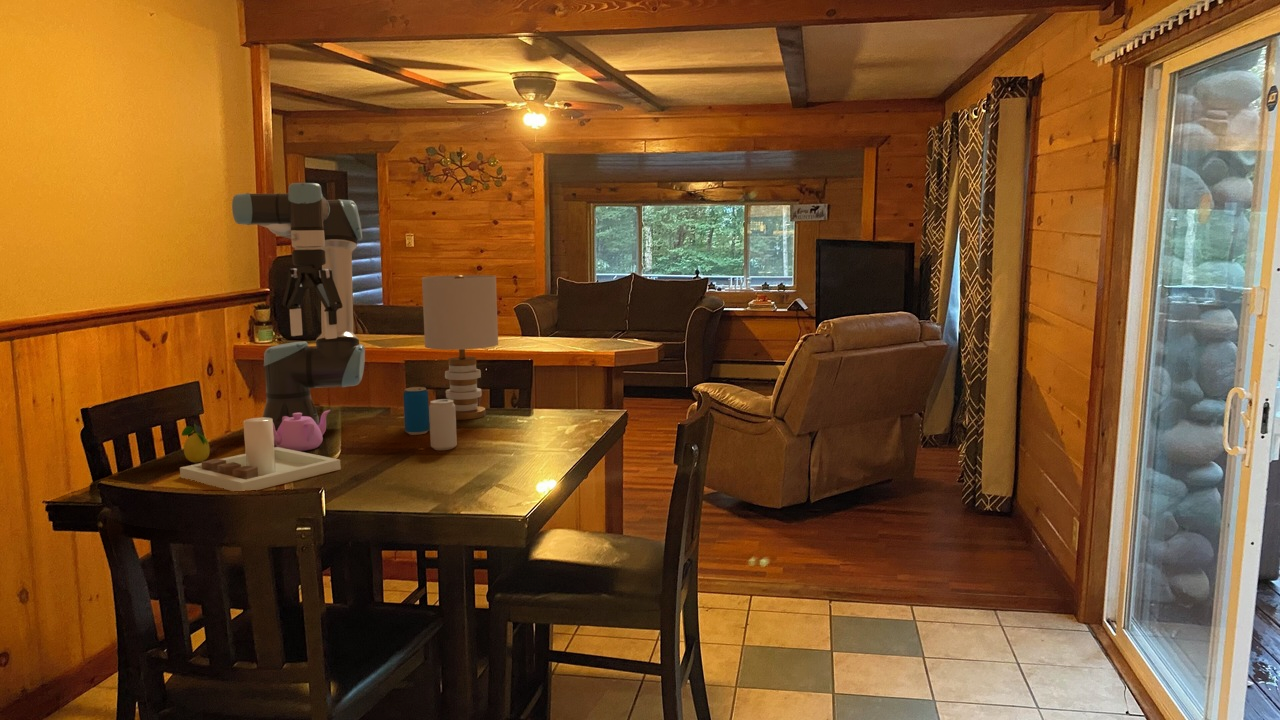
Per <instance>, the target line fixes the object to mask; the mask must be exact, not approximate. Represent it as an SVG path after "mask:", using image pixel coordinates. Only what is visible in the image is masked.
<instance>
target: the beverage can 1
mask: <svg viewBox="0 0 1280 720" xmlns="http://www.w3.org/2000/svg"><path fill="white" fill-rule="evenodd" d="M429 402H430V401H429V392H428V391H427V388H426V387H422V386H412V387H407V388H404V392H403V414H404V432H406V433H407V434H408V435H413V436H416V435H423V434H424V435H425V434H427V433H428V431H429V432H430V418H429V406H430V404H429Z"/></svg>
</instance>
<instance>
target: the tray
mask: <svg viewBox="0 0 1280 720" xmlns="http://www.w3.org/2000/svg"><path fill="white" fill-rule="evenodd" d="M274 450H275V465H276V472H275V473H271V474H267V475H263V476H258V477H254V478H250V479H246V480H245V479H241V478H237V477H233V476H229V475H225V474H220V473H216V472H212V471H208V470H204V469H202V463H201V462H200V463H193V464H191V465H186V466H181V467H179V472H180V473H179V476H180V478H181V479H184V478H186V479H185V480H188V479H191V480H190V481H192V480H195V481H194V482H196V481H197V482H196V483H199V482H201V483H200V484H203V483H204V485H208V486H211V485H212V486H211V487H215V486H216V488H219V489H223V488H224V489H223V490H227V491H231V492H234V491H245V490H256V491H260V490H264V489H267V488H272V487H276V486H279V485H284V484H288V483H291V482H296V481H300V480H304V479H307V478H313V477H316V476H321V475H324V474H328V473H331V472H336V471H339V470H340V471H341V469H342V467H341V459H339V458H333V457H329V456H324V455H318V454H313V453H309V452H305V451H295V450H290V449H285V448H280V447H277V446H274ZM220 459H221V460H226V463H231V462H235V463H238V464H241V467H242V466H246V453H242V454H241V453H240V454H237V455H234V456H227V457H223V458H220Z"/></svg>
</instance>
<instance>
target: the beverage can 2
mask: <svg viewBox="0 0 1280 720" xmlns="http://www.w3.org/2000/svg"><path fill="white" fill-rule="evenodd" d="M429 402H430V404H429V424H430V430H429V435H430V440H429V441H430V447H431V448H432V449H433V450H436V451H449V450H452V449H454V448H455V447H456V446H457V445H458V443H457V442H458V438H457V420H456V413H455V404H454V403H453V400H451V399H448V398H441V399H433V400H430V401H429Z"/></svg>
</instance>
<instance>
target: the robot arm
mask: <svg viewBox="0 0 1280 720" xmlns="http://www.w3.org/2000/svg"><path fill="white" fill-rule="evenodd" d="M231 201H232V202H231V208H232V210H231V211H232V217H233V220H234V222H235V223H236V224H237V225H243V226H244V225H246V226H253V225H257V226H261V227H264V228H266V229H268V230H269V231H270V232H271V233H272V234H274V235H276V236H280V237H282V238H287V239H290V240H291V247H292V248H294V249H292V251H291V255H292V265H293V266H297V267H296V268H295V267H294V268H289V269H288V271H287V272H288V273H287V274H288V277H287V283H286V287H285V291H284V295H283V299H282V306H283V307H286V308H287V309H288V313H289V323H290V336H291V337H296V336H297V337H298V336H303V321H302V320H303V319H302V307H301V303H302V301H303V298H304V296H305V294H306V292H307V290H308V289H312V290H313V291H314V292H316V294H317V296H318V298H319V300H320V304H321V305H320V306H321V309H320V310H321V311H320V312H321V313H320V314H321V317H320V318H321V334H320V335H318V337H317V338H316V339H315V345H314V346H309V343H308V342H307V341H294V342H289V343H288V342H287V343H281V344H278V345H274V346H270V347H268V348H266V349H265V351H264V352H263V368H264V382H265V383H264V384H265V395H266V401H265V405H264V409H263V411H262V412H263V414H262V417H261V418H263V417H265V418H272V419H273V423H274V426H275V430H276V432H277V430H278V428H279V426H280V424H281V423H282V417H284V416H288V417H289V418H290V417H293V415H292V414H293V413H302V416H307V417H311V418H312V419H313V420H314V421H315V422H316V424H317V425H319V423H320V420H319V415H318V412H317V409H316V407H315V404H314V402H313V399H312V395H311V389H313V388H314V389H318V388H319V389H320V388H321V389H323V388H345V387H355V386H358V385H359V384H360V383H361V382H362V380H363V375H364V371H365V370H364V369H365V361H366V359H365V358H366V348H365V345H364V344H361V343H360V339H359V337H357V336H356V334H355V333H354V305H353V304H354V302H353V298H354V297H353V262H352V261H353V257H352V254H353V252H354V251H355V250H356V249H357V248H358V241H359V242H360V241H362V240H363V230H362V229H363V228H362V224H361V218H360V214H359V209H358V206H357V203H355V201H354V200H351V199H340V198H338V199H326V197H324V195H323V192H322V186H321V185H320V184H319V183H315V182H292V183H290V184H289V185H288V192H286V193H280V192H279V193H249V192H246V193H237V194H234V196H233V197H232V200H231Z"/></svg>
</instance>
